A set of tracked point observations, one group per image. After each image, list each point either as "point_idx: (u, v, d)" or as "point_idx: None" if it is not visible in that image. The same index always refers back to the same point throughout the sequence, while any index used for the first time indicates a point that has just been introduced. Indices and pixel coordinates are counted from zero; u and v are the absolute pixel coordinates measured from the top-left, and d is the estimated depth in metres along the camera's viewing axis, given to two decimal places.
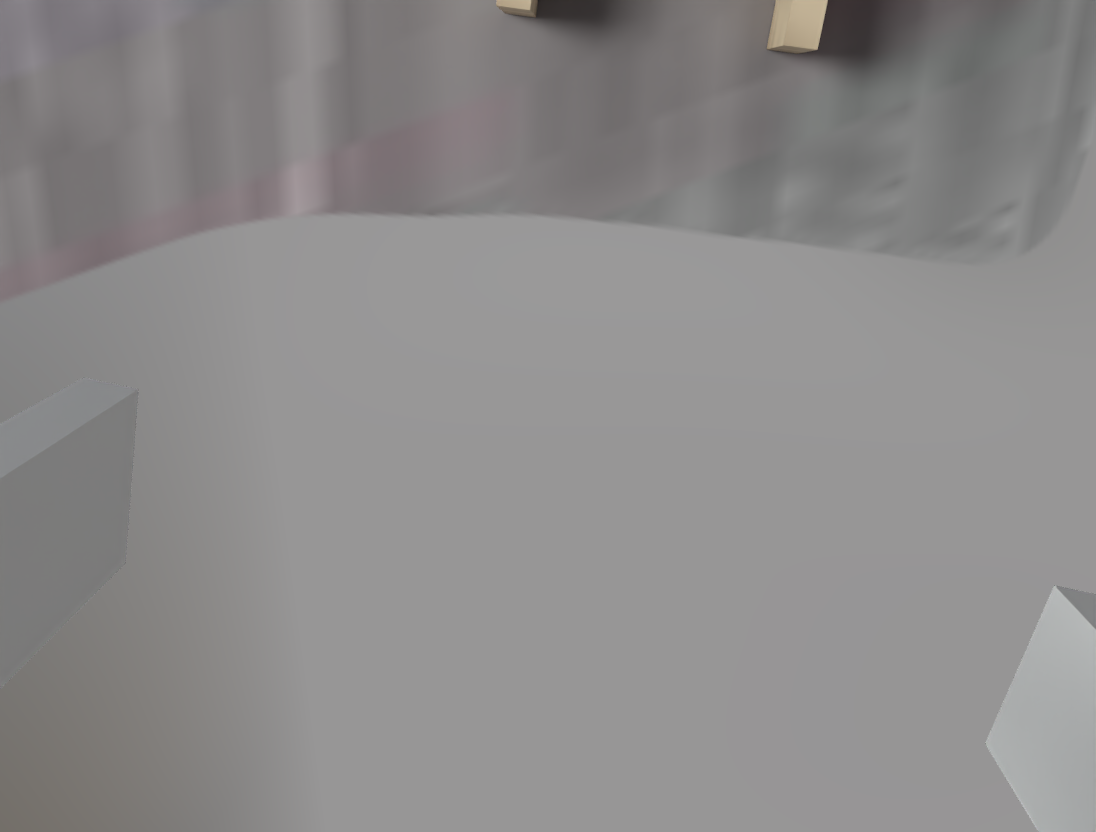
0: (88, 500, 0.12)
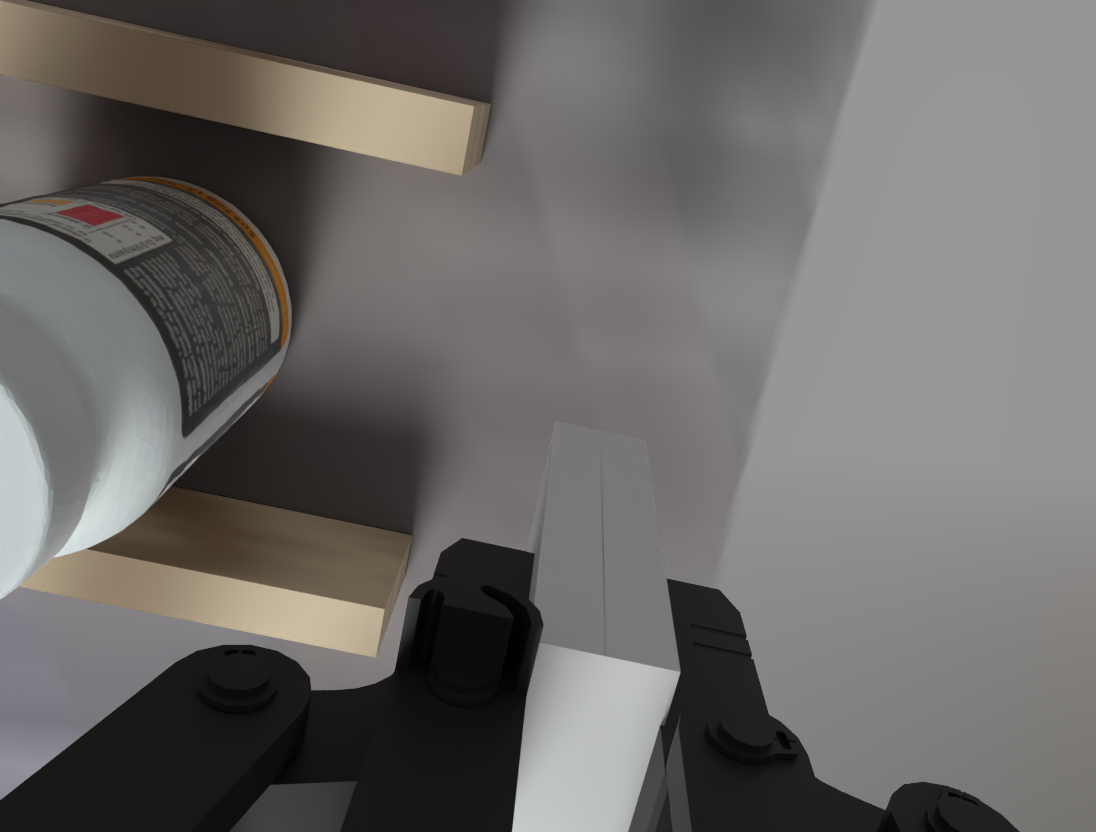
0: None
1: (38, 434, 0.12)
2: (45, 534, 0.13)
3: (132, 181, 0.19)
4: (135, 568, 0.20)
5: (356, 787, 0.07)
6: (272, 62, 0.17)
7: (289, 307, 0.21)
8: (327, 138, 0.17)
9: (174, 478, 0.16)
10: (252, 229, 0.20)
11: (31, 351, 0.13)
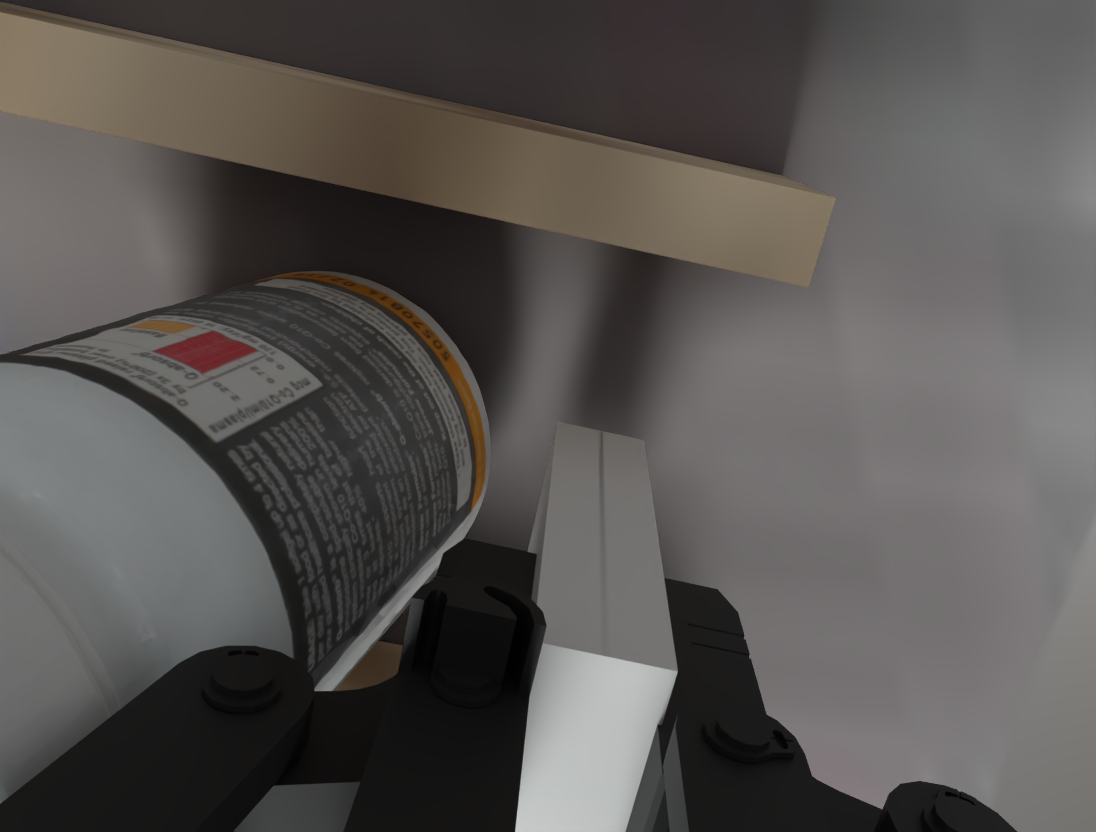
0: None
1: (5, 790, 0.07)
2: None
3: (297, 282, 0.14)
4: None
5: (359, 787, 0.07)
6: (567, 139, 0.12)
7: (488, 452, 0.15)
8: (632, 238, 0.13)
9: None
10: (447, 348, 0.15)
11: (29, 625, 0.07)
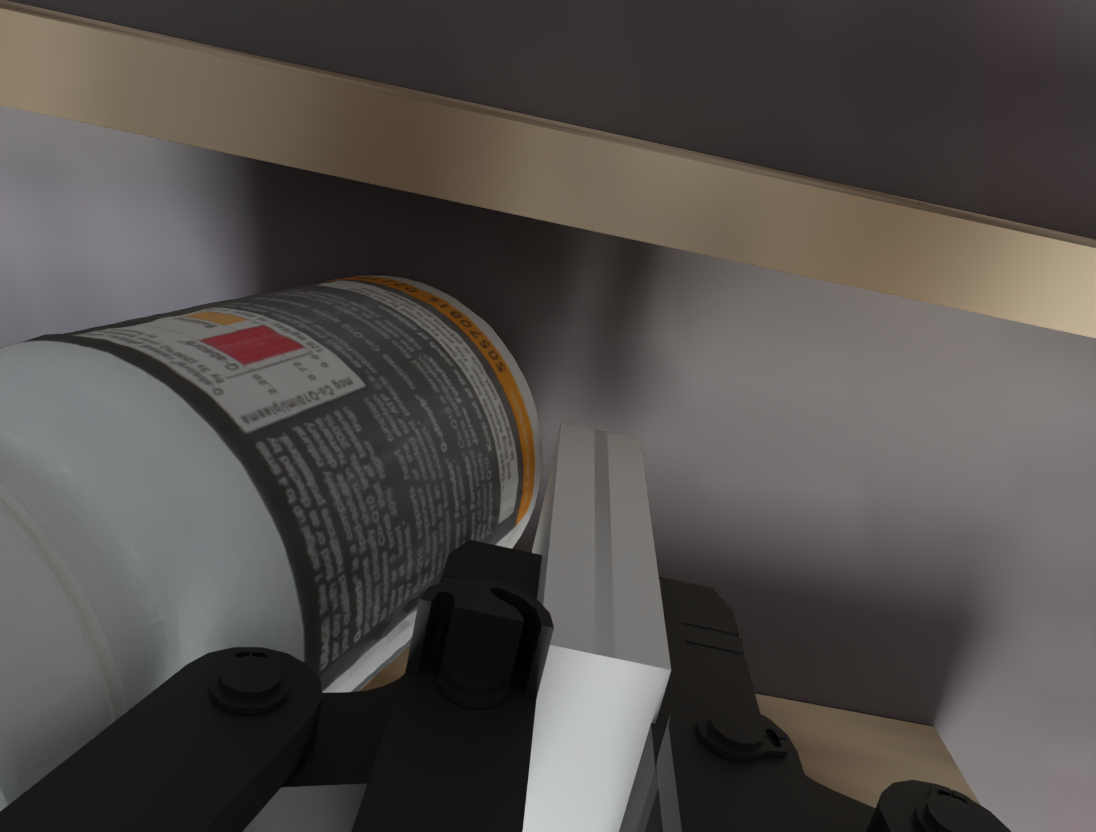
0: None
1: None
2: None
3: (359, 285, 0.14)
4: None
5: (366, 789, 0.07)
6: (1030, 235, 0.13)
7: (538, 467, 0.15)
8: (1076, 324, 0.14)
9: None
10: (504, 359, 0.15)
11: (34, 594, 0.08)
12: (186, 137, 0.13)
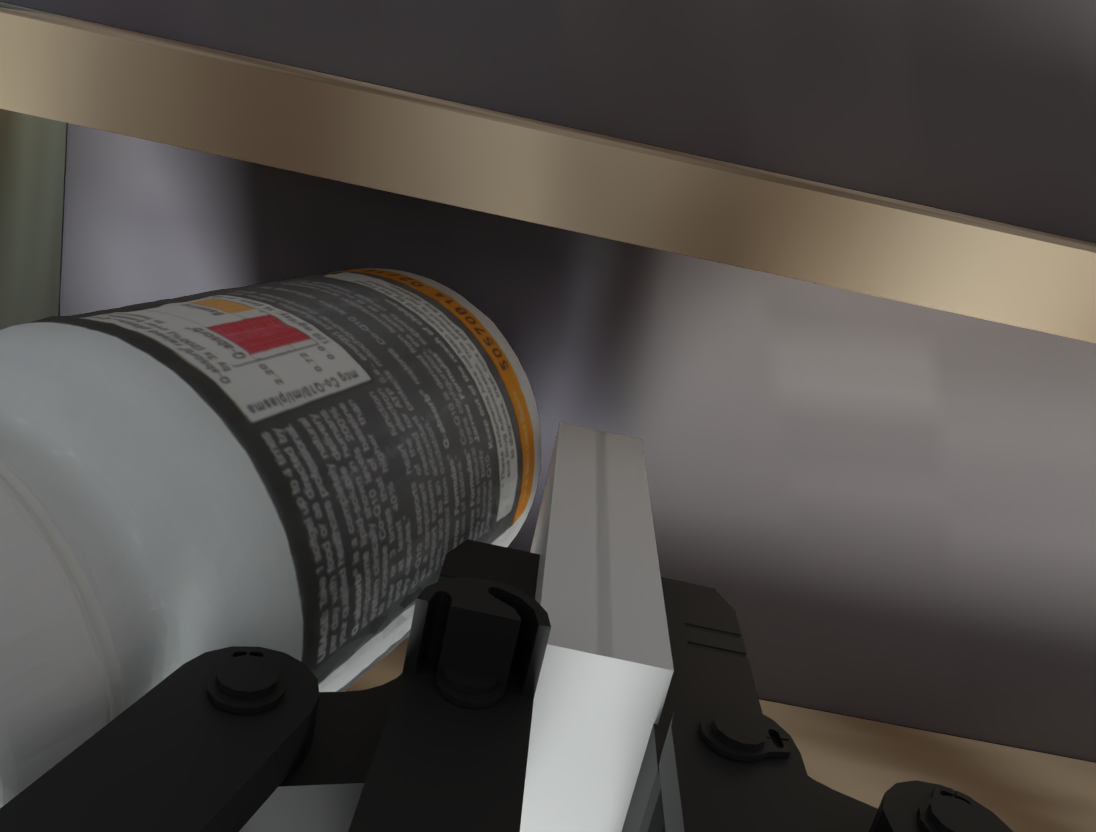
0: None
1: None
2: None
3: (365, 277, 0.14)
4: None
5: (364, 788, 0.07)
6: None
7: (537, 466, 0.15)
8: None
9: None
10: (507, 357, 0.15)
11: (36, 579, 0.08)
12: (542, 217, 0.13)
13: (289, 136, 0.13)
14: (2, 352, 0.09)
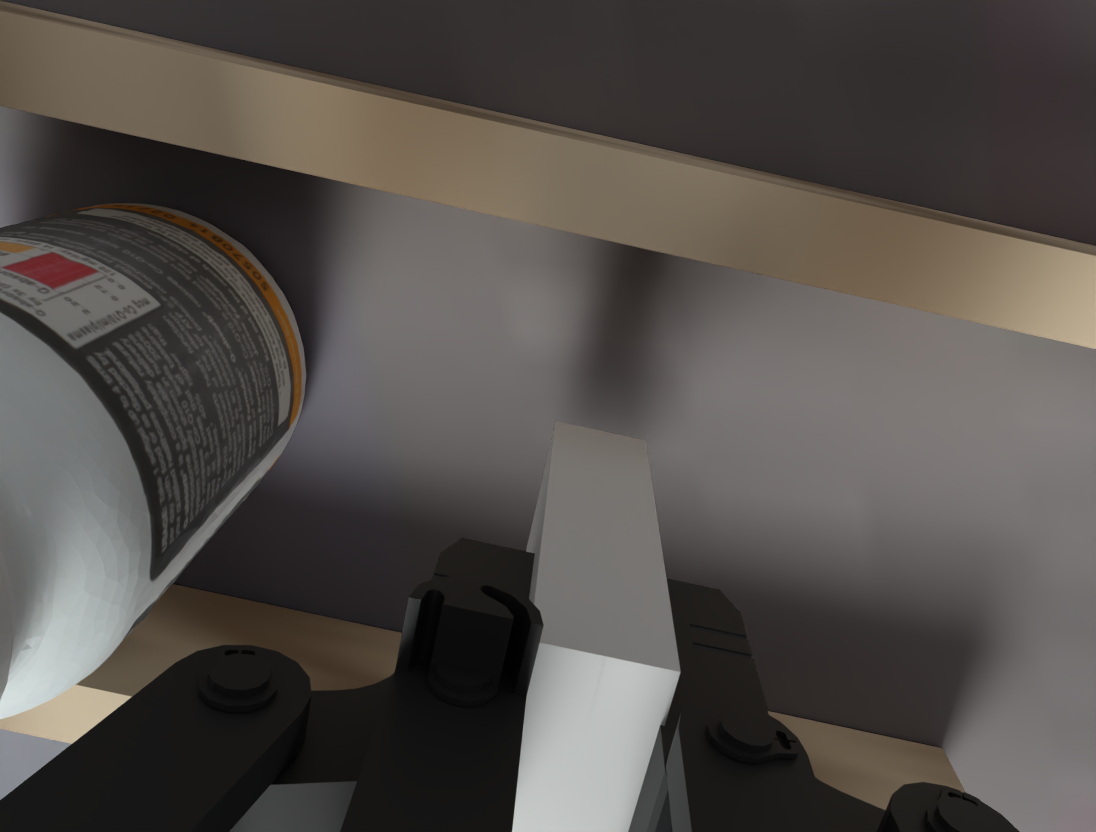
0: None
1: None
2: None
3: (119, 212, 0.15)
4: None
5: (356, 787, 0.07)
6: (1032, 243, 0.13)
7: (303, 375, 0.17)
8: (1081, 336, 0.13)
9: None
10: (265, 279, 0.16)
11: None
12: (178, 138, 0.13)
13: None
14: None
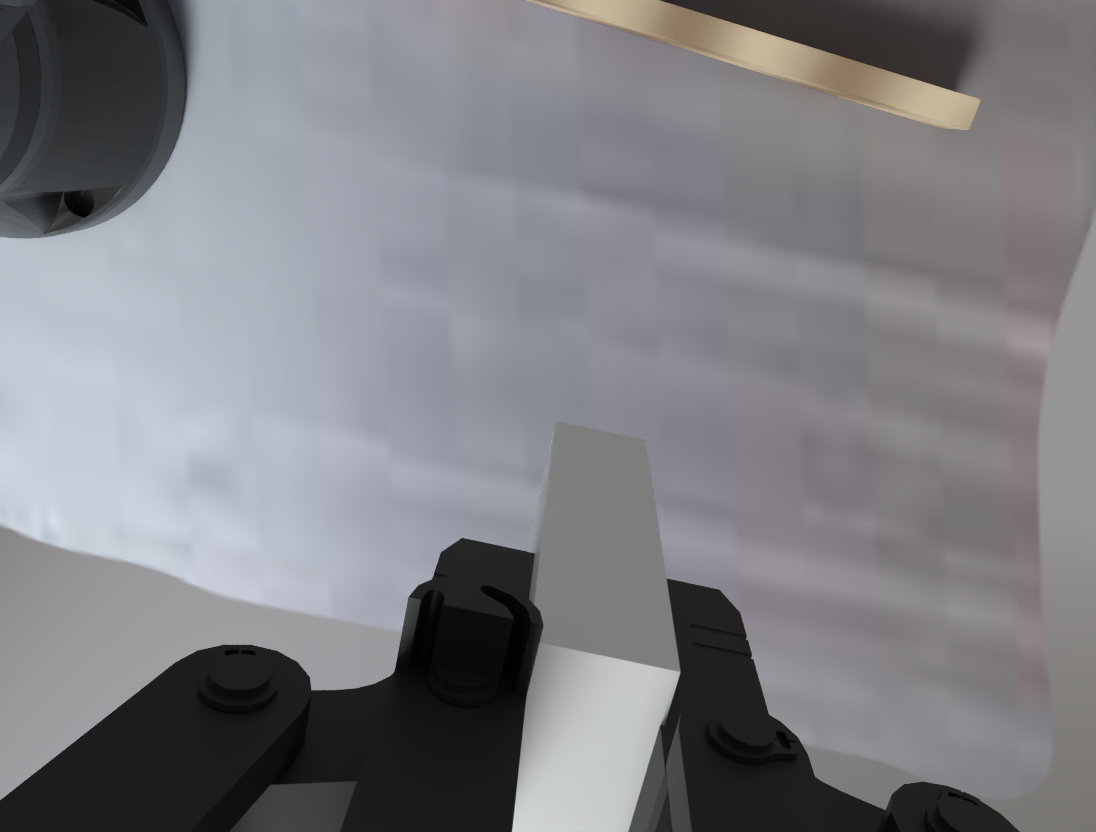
0: None
1: None
2: None
3: None
4: (856, 67, 0.38)
5: (356, 787, 0.07)
6: None
7: None
8: None
9: None
10: None
11: None
12: None
13: None
14: None
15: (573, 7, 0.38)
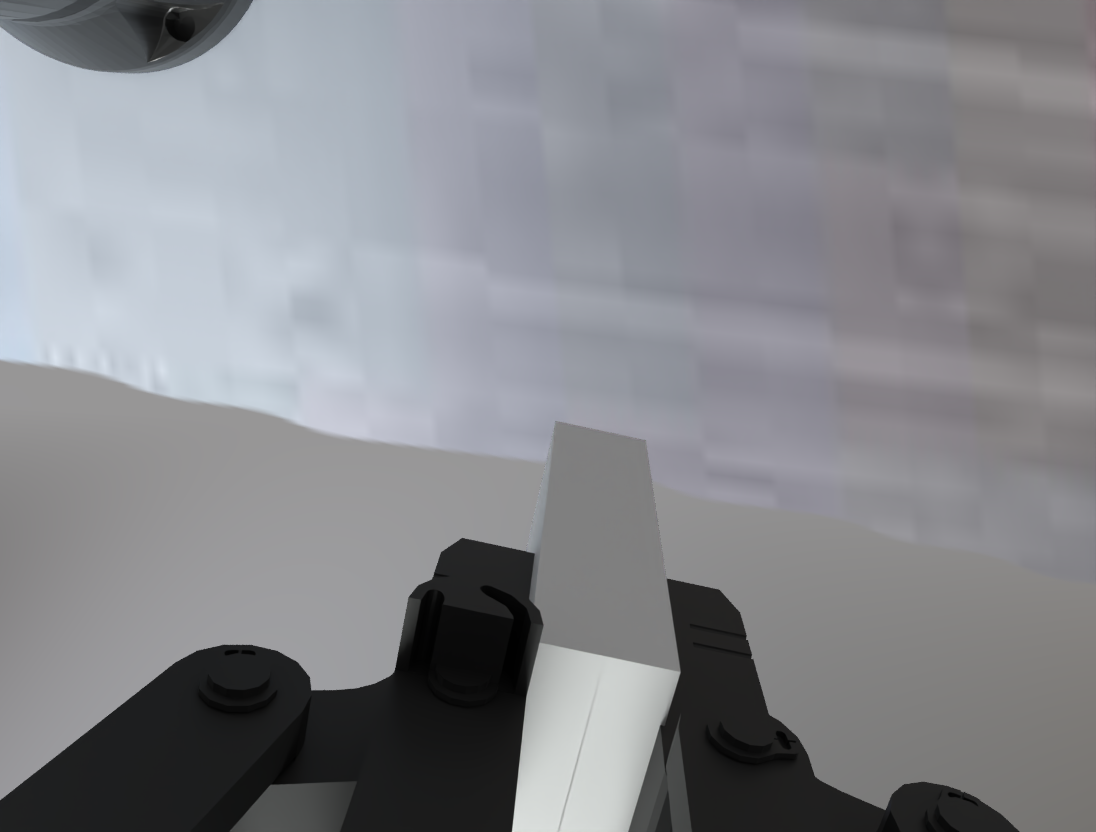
0: None
1: None
2: None
3: None
4: None
5: (356, 787, 0.07)
6: None
7: None
8: None
9: None
10: None
11: None
12: None
13: None
14: None
15: None
